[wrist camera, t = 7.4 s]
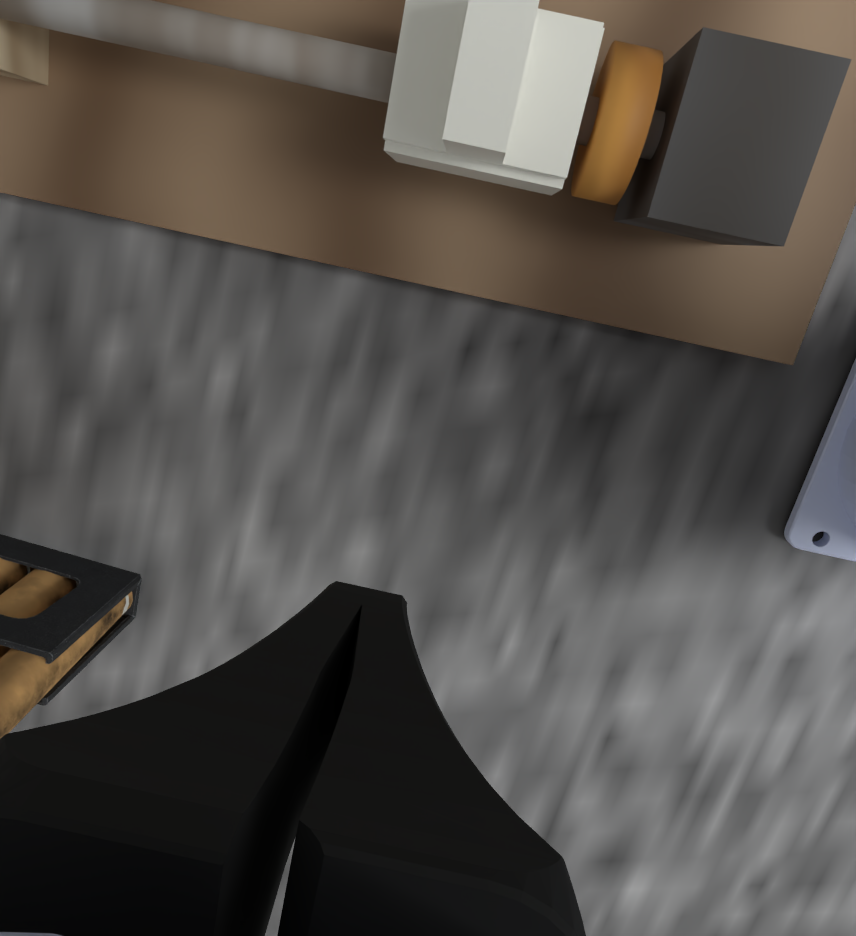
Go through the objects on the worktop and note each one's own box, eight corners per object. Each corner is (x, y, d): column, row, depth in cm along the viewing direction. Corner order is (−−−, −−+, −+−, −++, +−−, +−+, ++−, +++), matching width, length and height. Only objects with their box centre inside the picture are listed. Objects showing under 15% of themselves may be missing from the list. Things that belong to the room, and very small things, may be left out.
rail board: (909, 13, 17) (1074, -73, 12) (778, 359, 20) (870, 397, 15) (-12, -186, 17) (-201, -348, 13) (-9, 187, 20) (-161, 172, 16)
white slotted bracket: (586, 53, 16) (628, -20, 12) (551, 195, 17) (576, 180, 13) (421, 17, 16) (398, -69, 12) (396, 161, 17) (366, 134, 13)
